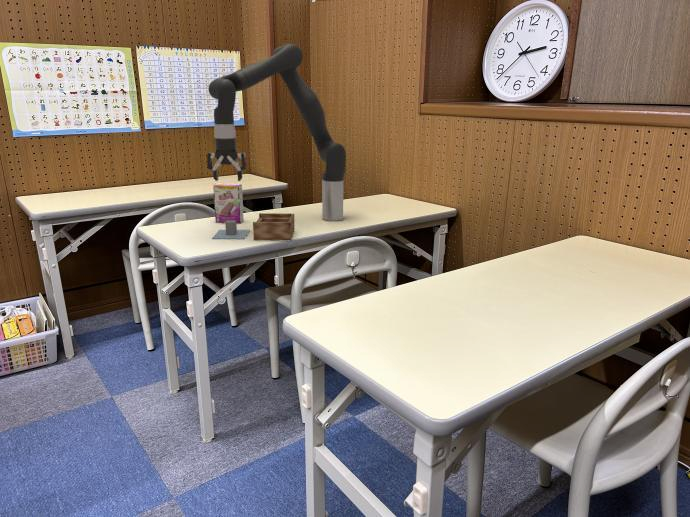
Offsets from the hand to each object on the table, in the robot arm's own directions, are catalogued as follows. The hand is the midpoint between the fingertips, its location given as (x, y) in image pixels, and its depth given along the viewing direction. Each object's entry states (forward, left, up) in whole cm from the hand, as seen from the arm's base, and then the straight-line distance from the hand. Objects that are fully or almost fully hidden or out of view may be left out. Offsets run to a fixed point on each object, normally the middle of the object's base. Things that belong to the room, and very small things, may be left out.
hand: (228, 180), depth 189 cm
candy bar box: (+5, -20, -22) cm, 30 cm away
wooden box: (-17, 0, -21) cm, 27 cm away
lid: (0, 0, -22) cm, 22 cm away
